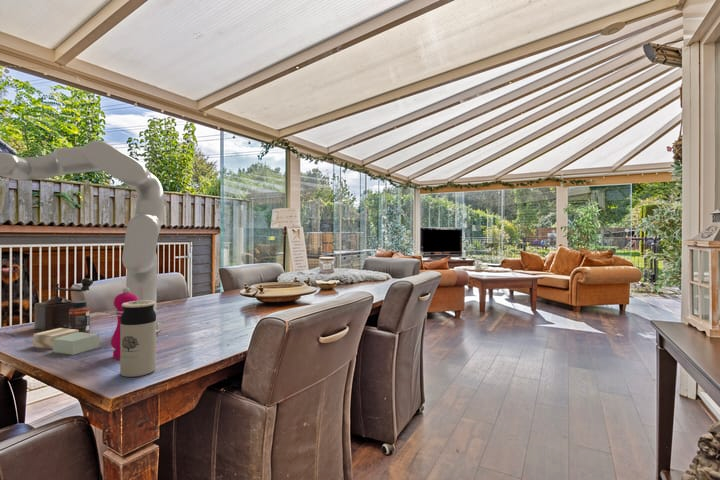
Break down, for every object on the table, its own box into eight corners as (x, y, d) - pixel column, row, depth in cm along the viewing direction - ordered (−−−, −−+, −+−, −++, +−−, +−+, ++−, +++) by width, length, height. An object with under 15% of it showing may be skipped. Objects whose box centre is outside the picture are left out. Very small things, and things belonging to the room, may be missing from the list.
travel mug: (139, 365, 102) (139, 299, 102) (162, 368, 100) (163, 301, 100) (112, 375, 95) (112, 304, 94) (137, 379, 92) (137, 306, 92)
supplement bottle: (93, 332, 134) (93, 300, 134) (75, 336, 129) (75, 303, 129) (83, 330, 137) (83, 299, 137) (65, 334, 132) (65, 302, 131)
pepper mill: (118, 361, 105) (119, 290, 104) (106, 356, 109) (106, 287, 108) (145, 354, 111) (145, 287, 111) (132, 350, 115) (132, 285, 114)
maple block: (78, 342, 123) (78, 329, 123) (52, 349, 115) (52, 336, 115) (60, 339, 125) (60, 327, 125) (33, 346, 117) (33, 333, 117)
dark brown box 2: (46, 332, 133) (46, 282, 133) (33, 328, 139) (33, 279, 139) (95, 323, 147) (95, 278, 146) (81, 320, 152) (81, 276, 152)
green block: (98, 346, 118) (98, 334, 118) (73, 354, 110) (73, 341, 110) (79, 344, 120) (79, 332, 120) (53, 352, 112) (53, 338, 112)
